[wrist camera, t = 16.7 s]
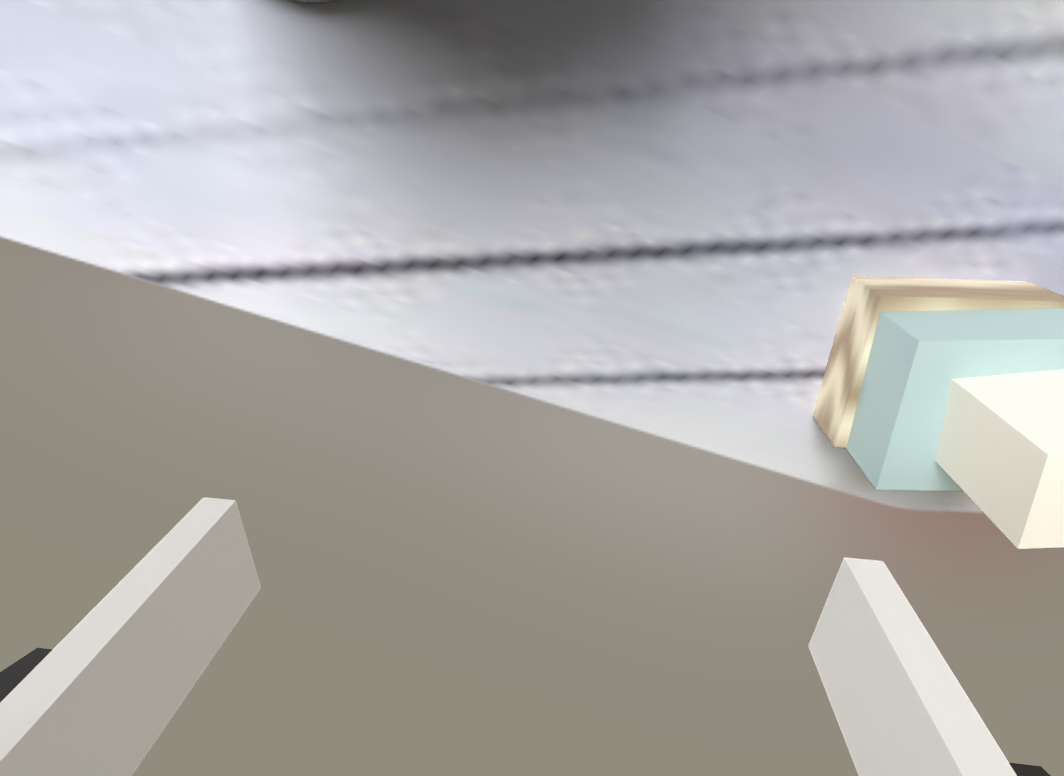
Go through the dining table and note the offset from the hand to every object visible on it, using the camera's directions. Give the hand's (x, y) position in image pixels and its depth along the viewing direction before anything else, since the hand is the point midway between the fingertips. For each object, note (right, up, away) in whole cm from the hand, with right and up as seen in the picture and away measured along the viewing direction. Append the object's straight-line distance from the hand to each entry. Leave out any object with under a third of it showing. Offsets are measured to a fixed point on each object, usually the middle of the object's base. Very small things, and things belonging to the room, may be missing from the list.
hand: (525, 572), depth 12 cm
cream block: (+29, +2, +22) cm, 36 cm away
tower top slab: (+29, +4, +26) cm, 40 cm away
